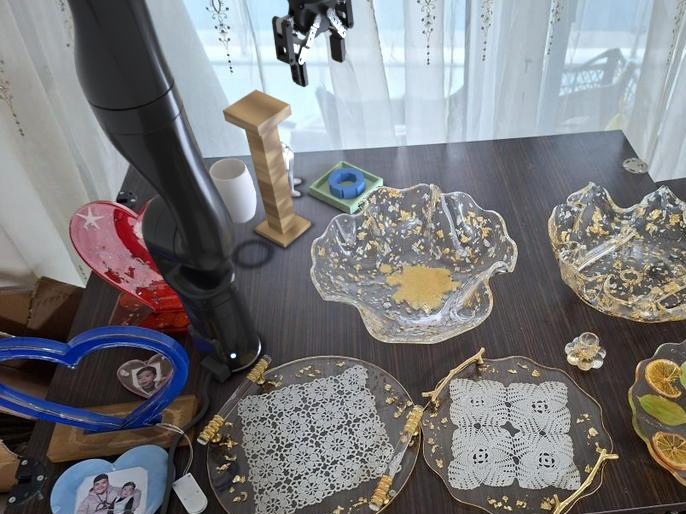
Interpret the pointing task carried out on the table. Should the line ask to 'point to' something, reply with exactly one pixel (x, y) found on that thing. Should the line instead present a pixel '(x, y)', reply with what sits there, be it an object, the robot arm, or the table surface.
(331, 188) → the ring
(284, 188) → the platform
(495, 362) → the table surface
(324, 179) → the tray
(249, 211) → the cup
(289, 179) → the figurine
